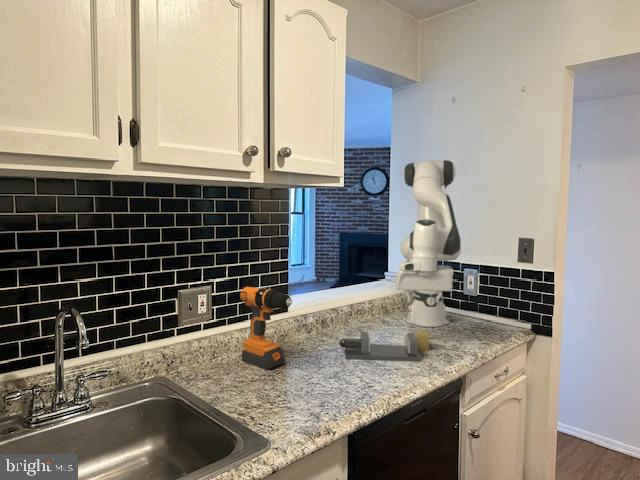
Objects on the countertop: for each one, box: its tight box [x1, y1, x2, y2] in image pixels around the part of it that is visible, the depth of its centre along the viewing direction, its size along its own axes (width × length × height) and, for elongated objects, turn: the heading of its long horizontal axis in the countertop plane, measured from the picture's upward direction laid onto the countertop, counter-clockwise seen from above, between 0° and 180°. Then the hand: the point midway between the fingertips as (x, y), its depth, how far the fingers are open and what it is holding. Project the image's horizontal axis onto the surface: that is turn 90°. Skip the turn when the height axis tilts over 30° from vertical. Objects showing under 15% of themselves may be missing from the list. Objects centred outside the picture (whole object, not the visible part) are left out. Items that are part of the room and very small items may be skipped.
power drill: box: [239, 286, 293, 371], centre depth 142 cm, size 22×7×25 cm, turn 50°
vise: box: [344, 332, 421, 362], centre depth 155 cm, size 12×25×6 cm, turn 87°
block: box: [413, 330, 430, 352], centre depth 162 cm, size 4×4×6 cm
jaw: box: [339, 331, 371, 354], centre depth 155 cm, size 9×10×5 cm
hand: (422, 302), depth 161 cm, fingers open, 8 cm apart
